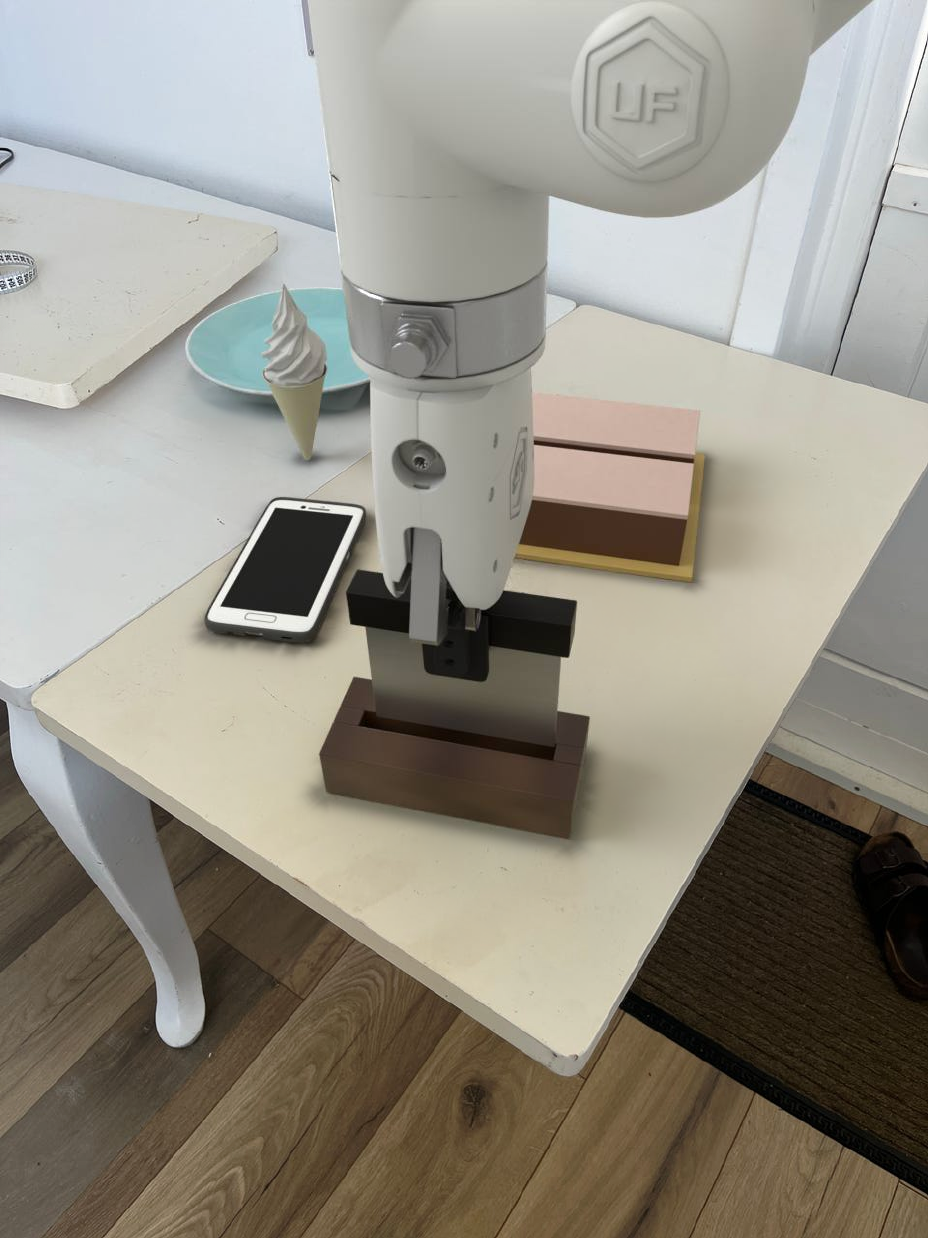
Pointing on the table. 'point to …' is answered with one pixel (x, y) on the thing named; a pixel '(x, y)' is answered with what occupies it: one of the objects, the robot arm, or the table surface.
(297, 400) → the ice cream cone
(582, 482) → the cake
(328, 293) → the plate
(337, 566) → the cell phone
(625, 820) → the table surface
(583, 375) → the table surface
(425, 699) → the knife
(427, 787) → the brown slotted box
